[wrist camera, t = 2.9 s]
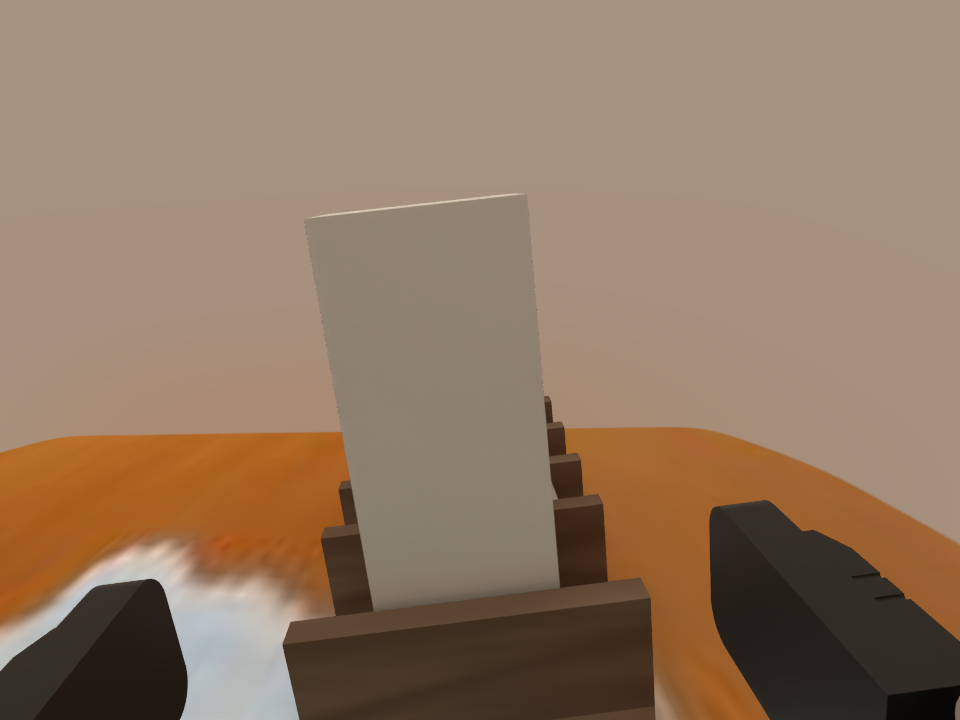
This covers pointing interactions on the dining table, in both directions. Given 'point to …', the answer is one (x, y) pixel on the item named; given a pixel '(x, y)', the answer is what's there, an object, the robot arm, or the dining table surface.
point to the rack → (483, 634)
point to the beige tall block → (440, 396)
